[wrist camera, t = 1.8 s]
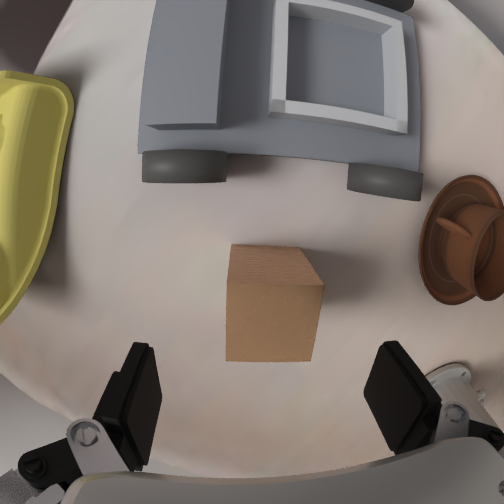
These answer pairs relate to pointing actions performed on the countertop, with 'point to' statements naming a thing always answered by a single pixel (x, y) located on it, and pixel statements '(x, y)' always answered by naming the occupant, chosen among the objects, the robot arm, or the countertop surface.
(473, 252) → the cup and saucer
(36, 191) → the plastic component
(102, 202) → the countertop surface
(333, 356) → the countertop surface
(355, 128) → the chassis
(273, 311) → the wooden block
